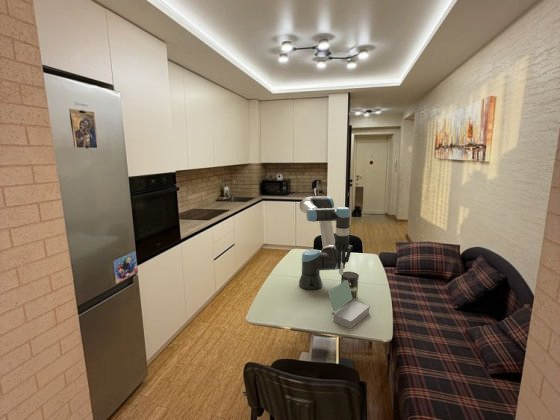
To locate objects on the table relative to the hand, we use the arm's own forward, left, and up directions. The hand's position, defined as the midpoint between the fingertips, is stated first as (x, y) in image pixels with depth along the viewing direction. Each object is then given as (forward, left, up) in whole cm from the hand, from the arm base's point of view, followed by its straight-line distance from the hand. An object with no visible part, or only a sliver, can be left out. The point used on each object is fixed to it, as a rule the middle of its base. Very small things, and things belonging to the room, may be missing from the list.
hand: (341, 273), depth 176 cm
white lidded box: (+14, -12, -17) cm, 25 cm away
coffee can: (+1, +8, -17) cm, 19 cm away
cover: (+8, -12, -6) cm, 15 cm away
